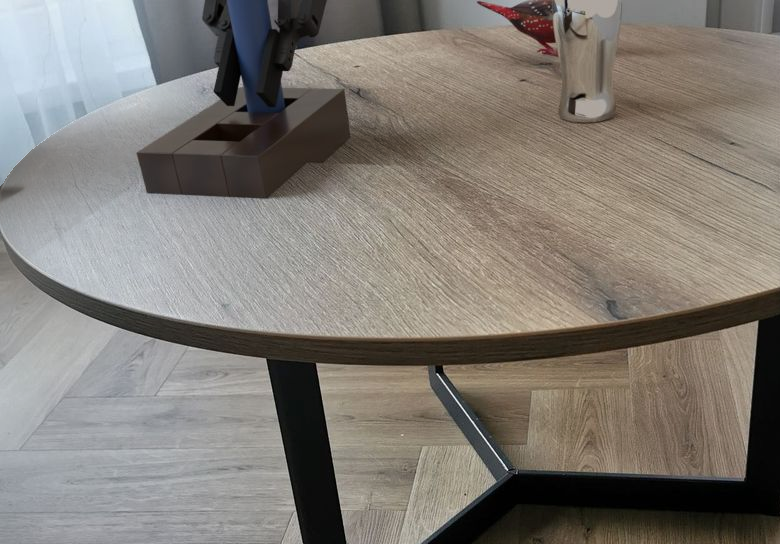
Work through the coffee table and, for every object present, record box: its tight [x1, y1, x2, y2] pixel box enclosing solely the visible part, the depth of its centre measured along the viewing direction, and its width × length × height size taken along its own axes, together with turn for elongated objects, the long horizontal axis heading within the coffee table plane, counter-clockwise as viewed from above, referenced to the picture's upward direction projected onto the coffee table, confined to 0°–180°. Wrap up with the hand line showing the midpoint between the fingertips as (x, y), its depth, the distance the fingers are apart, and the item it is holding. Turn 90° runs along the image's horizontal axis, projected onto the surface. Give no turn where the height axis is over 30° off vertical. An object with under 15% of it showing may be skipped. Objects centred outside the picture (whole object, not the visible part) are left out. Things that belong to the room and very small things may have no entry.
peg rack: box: [136, 86, 352, 200], centre depth 91 cm, size 12×20×5 cm, turn 167°
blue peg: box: [227, 0, 285, 113], centre depth 91 cm, size 4×4×12 cm
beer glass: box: [552, 0, 623, 124], centre depth 98 cm, size 7×7×15 cm
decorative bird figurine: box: [476, 0, 558, 57], centre depth 121 cm, size 3×18×10 cm, turn 63°
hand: (244, 99), depth 89 cm, fingers closed on blue peg, 4 cm apart
